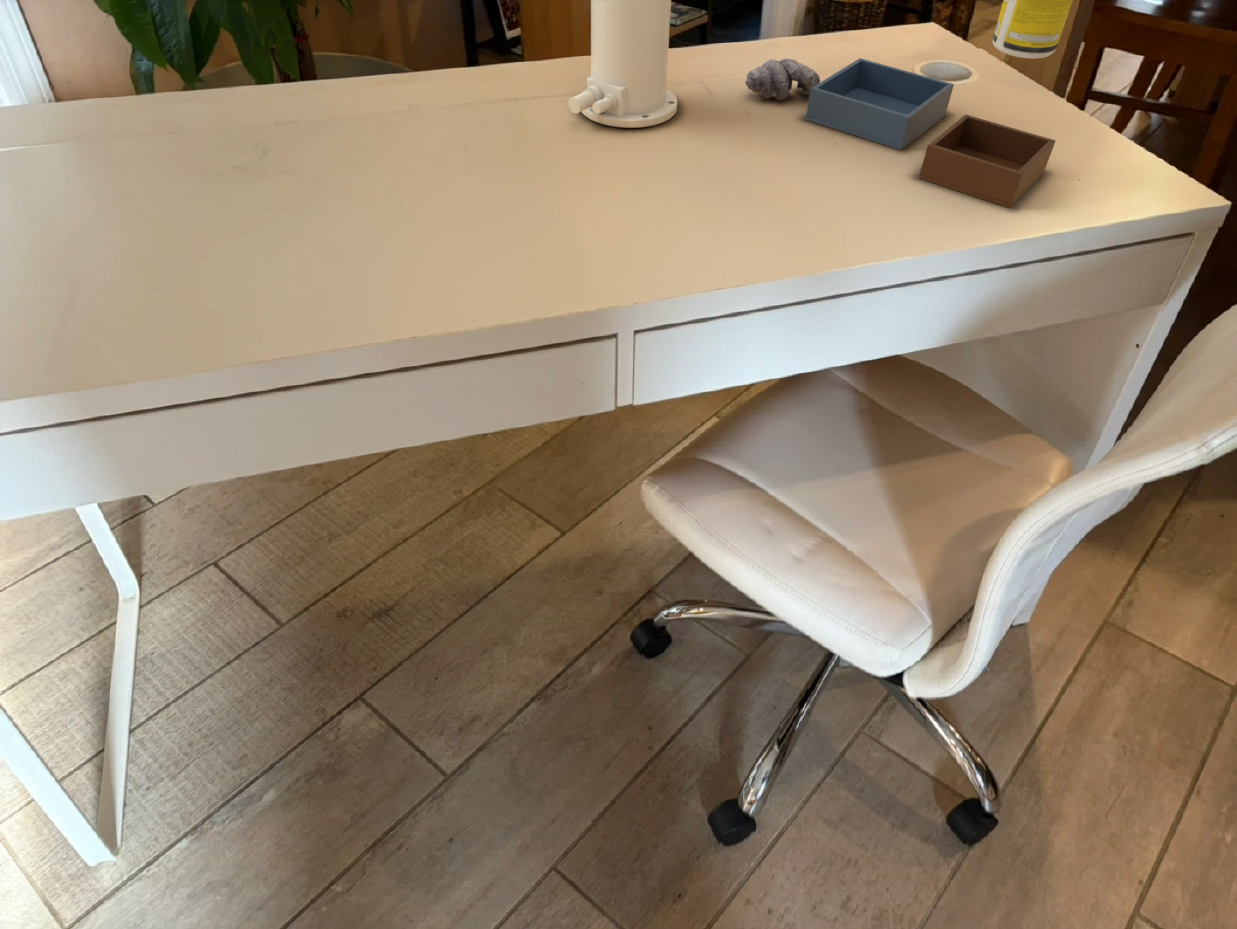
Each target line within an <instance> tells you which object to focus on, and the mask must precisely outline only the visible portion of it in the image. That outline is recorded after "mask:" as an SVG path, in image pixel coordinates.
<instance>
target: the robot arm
mask: <svg viewBox="0 0 1237 929" xmlns="http://www.w3.org/2000/svg"><path fill="white" fill-rule="evenodd" d="M671 11H672V0H590V76H588V77H587V78H586V88H584V90H583V91H581V93H579V94H577V95H576V94H575V96H572V97H571V98H569V99H568V101H567V107H568V109H569V111H570V112H571V113H572V114H573V115H576V114H577V115H578V114H580V113H582V114H583V115H584V116H585V117H586V118H588V119H589V120H591V121H593V122H595V123H598V124H601V125H604V126H609V127H615V128H623V129H624V128H628V129H635V128H647V127H652V126H656V125H659V124H662V123H665V122H666V121H668V120H671V119H672V117H674V116H675V115H676V113H677V111H678V98H677V96H676V95H675V93H673V91H671V90H670V89H668V88H667V80H668V79H667V78H668V65H669V64H668V63H669V46H670V45H669V44H670V29H671Z"/></svg>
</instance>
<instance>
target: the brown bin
mask: <svg viewBox="0 0 1237 929" xmlns="http://www.w3.org/2000/svg"><path fill="white" fill-rule="evenodd" d="M1055 144H1056V140H1055V139H1052V138H1048V137H1045V136H1042V135H1038V134H1035V133H1032V132H1028V131H1025V130H1021V129H1017V128H1014V127H1011V126H1008V125H1004V124H1000V123H997V122H993V121H990V120H987V119H983V118H980V117H976V116H973V115H969V114H964V115H963V116H962V117H960V118H959V119H958V120H957V121H955V122H954V123H953V124H952V125H950V126H949V127H948V128H947V129H946V130H944V131H943V132H942V133H940V134H939V135H938V136H937V137H936V138H935V139H933V140H932V141H930V142H929V143H928V145H927V146H926V150H925V154H924V156H923V161H922V165H921V169H920V172H919V176H918V179H920V180H923V181H926V182H928V183H933V184H934V185H935V184H936V185H939V186H940V187H941V186H942V187H944V188H948V189H950V190H953V191H957V192H958V193H963V194H964V195H965V194H966V195H969V196H972V197H975V198H978V199H981V200H983V201H987V202H990V203H993V204H996V205H999V206H1002V207H1005V208H1008V209H1011V208H1012V207H1013V206H1014V205H1015V204H1016V203H1017V201H1018V200H1019V199H1020V198H1021V197H1022V196H1023V195H1024V194H1025V193H1026V192H1027V191H1028V190H1029V189H1030V188H1031V187H1032V186H1033V185H1034V184H1035V183H1036V181H1038V179H1039V178H1041V177H1042V175H1044V173H1045V171H1046V168H1047V164H1048V163H1049V160H1050V157H1051V154H1052V152H1053V149H1054V146H1055Z"/></svg>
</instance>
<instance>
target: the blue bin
mask: <svg viewBox="0 0 1237 929" xmlns="http://www.w3.org/2000/svg"><path fill="white" fill-rule="evenodd" d="M954 85H955V84H954V83H952V82H948V81H944V80H940V79H937V78H933V77H930V76H927V75H923V74H918V73H916V72H912V71H908V70H905V69H901V68H897V67H894V66H890V65H887V64H884V63H879V62H875V61H871V60H869V59H864V58H861V57H860V58H857V59H855V60H854V61H853V62H851V63H849V64H848V65H846V66H844V67H843V68H842V69H840V70H838V71H837V72H835V73H833V74H832V75H830V76H828V77H827V78H825V79H823V80H821V81H820V82H819V84H817V85H815V86H814V87H812V88H811V90H810V94H809V97H808V103H807V109H806V115H805V120H806V121H808V122H812V123H815V124H817V125H821V126H825V127H827V128H831V129H833V130H836V131H840V132H843V133H846V134H850V135H852V136H856V137H858V138H861V139H865V140H867V141H872V142H875V143H878V144H881V145H884V146H887V147H890V148H893V149H897V150H900V151H902V150H904V148H906V147H907V146H908V145H910V144H911V143H912V142H913V141H915V140H916V139H917V138H919V137H920V136H921V135H922V134H924V133H925V132H926V131H927V130H928V129H930V128H931V127H932V126H934V125H935V124H936V123H937V122H939V121H940V120H941V119H942V118H944V117H945V116H946V115H947V111H948V108H949V105H950V104H949V103H950V100H951V96H952V93H953V90H954Z"/></svg>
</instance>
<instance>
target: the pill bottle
mask: <svg viewBox="0 0 1237 929" xmlns="http://www.w3.org/2000/svg"><path fill="white" fill-rule="evenodd" d="M1073 2H1074V0H1003V2H1002V4H1001V8H1000V11H999V14H998V18H997V22H996V25H995V28H994V32H993V36H992V44H993V46H994V48H995V49H996V50H997V51H998V52H1000V53H1003V54H1005V55H1009V56H1012V57H1015V58H1020V59H1021V58H1022V59H1043V58H1047V57H1049V56H1051V55H1053V54H1054V53H1055V52H1056V50H1057V48H1058V45H1059V42H1060V40H1061V37H1062V35H1063V34H1062V33H1063V31H1064V28H1065V25H1066V21H1067V19H1068V16H1069V14H1070V10H1071V8H1072V5H1073Z"/></svg>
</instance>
